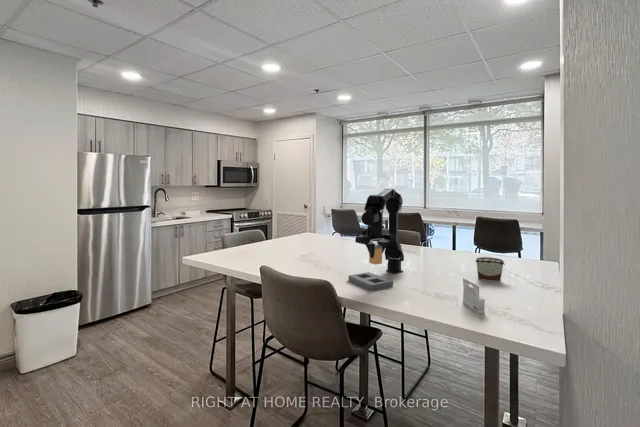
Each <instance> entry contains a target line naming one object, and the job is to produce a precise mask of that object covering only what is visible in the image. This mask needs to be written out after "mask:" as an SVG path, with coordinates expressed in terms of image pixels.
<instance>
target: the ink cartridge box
mask: <svg viewBox="0 0 640 427" xmlns="http://www.w3.org/2000/svg"><path fill="white" fill-rule="evenodd" d="M462 282H463V283H462V284H463V291H462V292H463V293H462V303H463V304H464V305H466V306H467V307H468V308H470V309H471V308H472V310H473V311H474V312H476V313H477V314H485V307H486V306H485V305H486V303H485V302H486V299H485V298H483V297H482V296H480V286H479V285H477V284H475V283H473V282H471V281H469V280H467V279H465V278H463V279H462ZM470 285H471V286H470Z"/></svg>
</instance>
